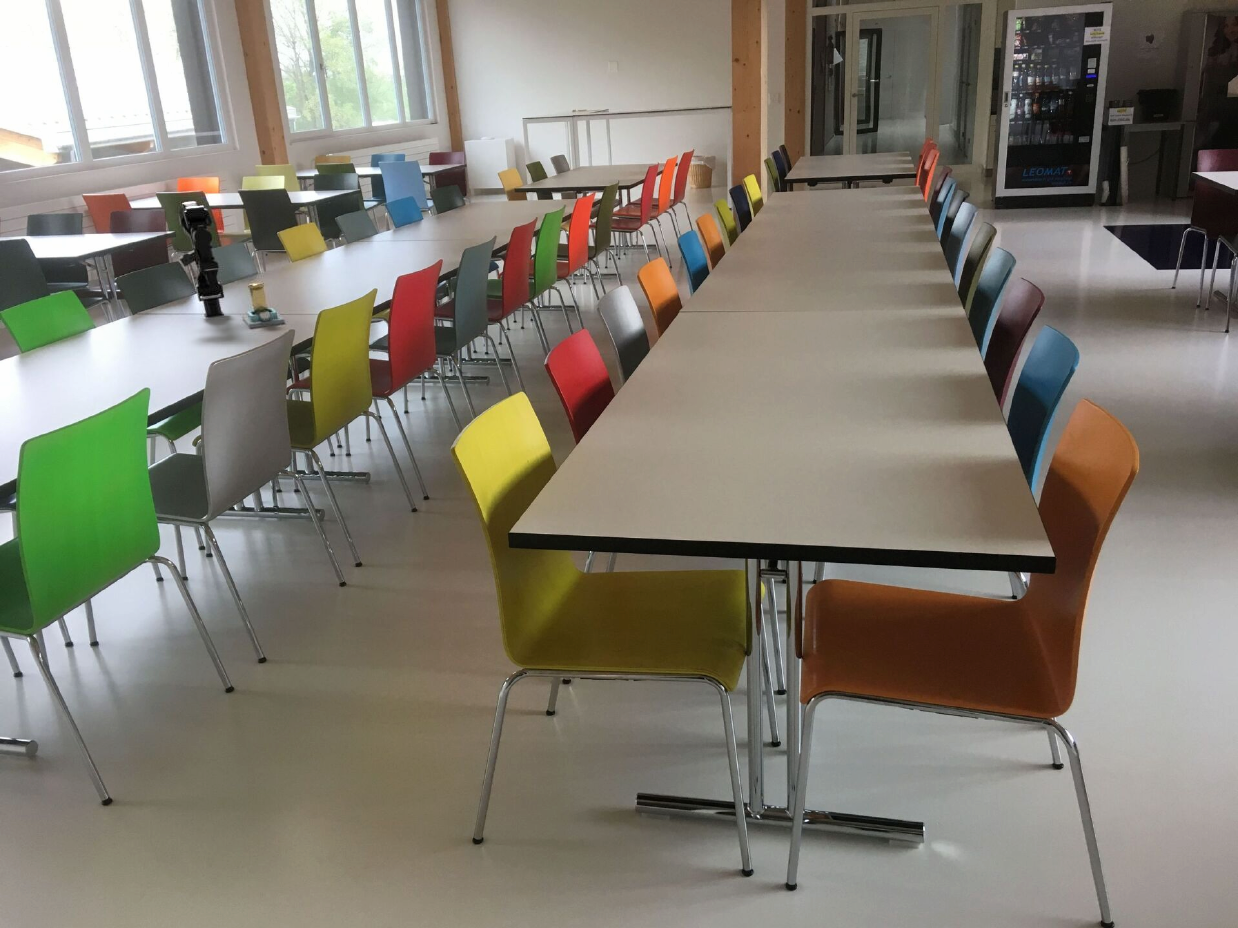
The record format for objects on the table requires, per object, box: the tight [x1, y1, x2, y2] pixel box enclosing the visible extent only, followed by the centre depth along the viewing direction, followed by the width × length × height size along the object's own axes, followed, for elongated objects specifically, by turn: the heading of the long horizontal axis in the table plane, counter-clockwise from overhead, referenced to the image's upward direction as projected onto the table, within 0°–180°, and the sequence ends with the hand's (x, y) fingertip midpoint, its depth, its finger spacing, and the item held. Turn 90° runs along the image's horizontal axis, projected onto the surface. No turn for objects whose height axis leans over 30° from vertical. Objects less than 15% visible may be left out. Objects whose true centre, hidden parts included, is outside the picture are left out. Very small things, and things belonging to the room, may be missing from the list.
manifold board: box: [241, 307, 286, 329], centre depth 347 cm, size 18×12×4 cm, turn 28°
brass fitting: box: [247, 282, 269, 315], centre depth 346 cm, size 5×5×12 cm
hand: (211, 286), depth 348 cm, fingers open, 9 cm apart
